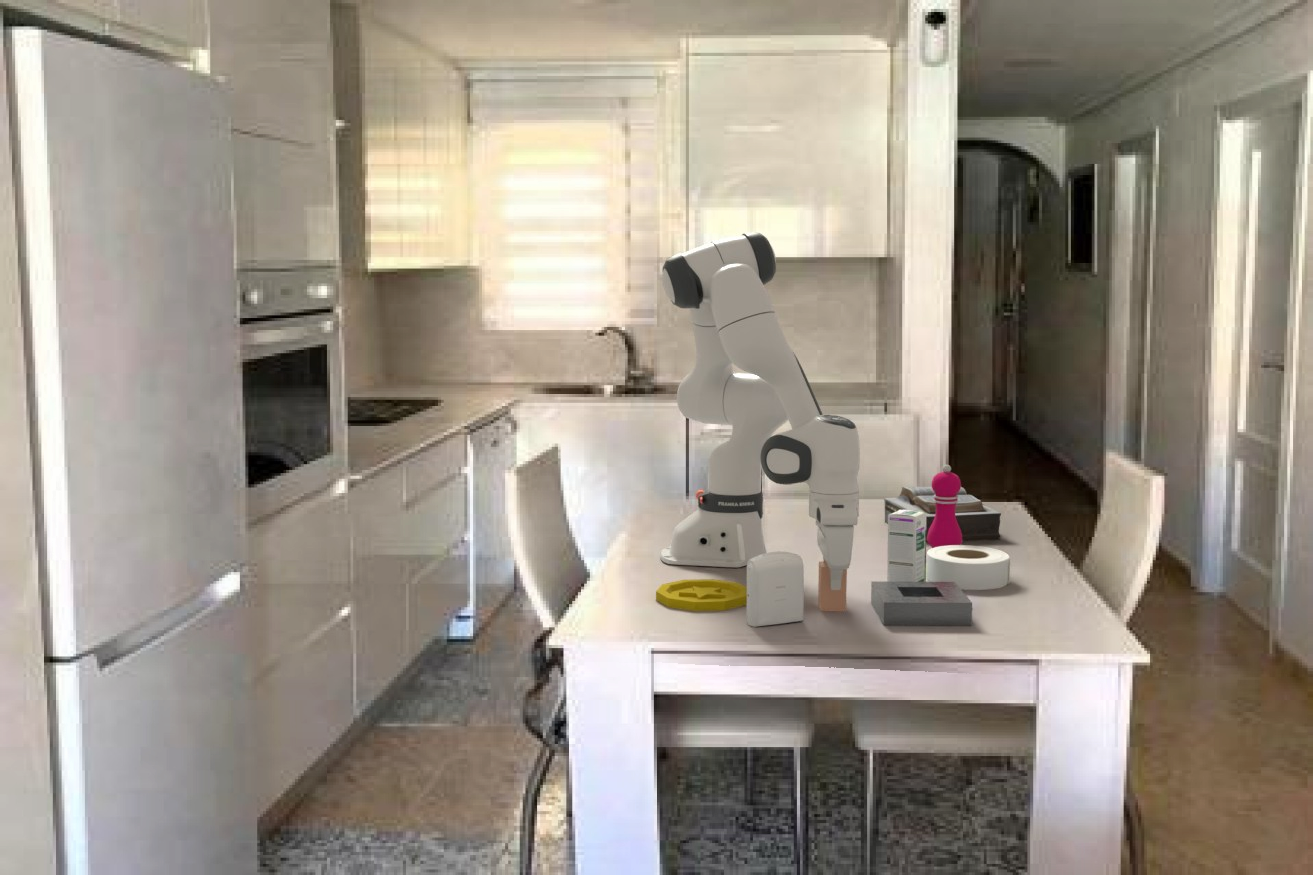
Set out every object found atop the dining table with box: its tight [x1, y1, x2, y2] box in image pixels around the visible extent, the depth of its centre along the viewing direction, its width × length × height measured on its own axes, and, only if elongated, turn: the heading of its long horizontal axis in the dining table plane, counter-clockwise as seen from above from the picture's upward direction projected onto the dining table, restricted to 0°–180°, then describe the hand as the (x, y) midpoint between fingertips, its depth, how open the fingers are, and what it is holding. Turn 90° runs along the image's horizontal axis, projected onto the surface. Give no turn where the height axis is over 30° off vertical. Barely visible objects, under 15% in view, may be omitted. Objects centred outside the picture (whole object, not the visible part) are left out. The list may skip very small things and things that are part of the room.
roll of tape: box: [926, 544, 1011, 591], centre depth 259 cm, size 16×16×6 cm
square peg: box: [817, 561, 848, 612], centre depth 238 cm, size 4×4×8 cm
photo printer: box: [746, 551, 805, 628], centre depth 228 cm, size 10×4×12 cm, turn 112°
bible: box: [883, 485, 1002, 544], centre depth 306 cm, size 23×27×10 cm
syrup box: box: [886, 510, 927, 582], centre depth 253 cm, size 6×6×14 cm
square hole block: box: [870, 580, 973, 627], centre depth 234 cm, size 15×15×4 cm
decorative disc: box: [655, 578, 747, 612], centre depth 245 cm, size 17×18×2 cm
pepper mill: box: [927, 464, 963, 549], centre depth 276 cm, size 7×7×20 cm
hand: (832, 582), depth 238 cm, fingers open, 8 cm apart
